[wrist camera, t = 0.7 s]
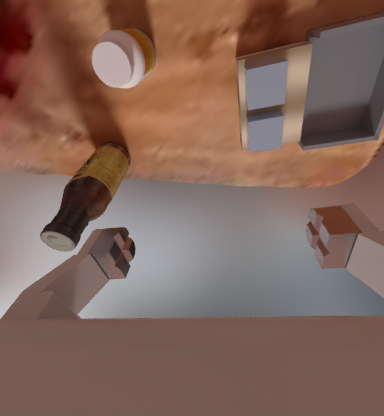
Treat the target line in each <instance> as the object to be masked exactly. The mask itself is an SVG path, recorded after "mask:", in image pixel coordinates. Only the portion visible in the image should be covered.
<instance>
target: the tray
mask: <svg viewBox="0 0 384 416" xmlns="http://www.w3.org/2000/svg"><path fill="white" fill-rule="evenodd" d="M307 42H310V43H313V47H312V55H311V62H310V70H309V77H308V85H307V92H306V100H305V108H304V115H303V123H302V130H301V138H300V142H298V143H299V145H300V146H301V148H302V149H303V150H309V149H316V148H323V147H330V146H337V145H344V144H351V143H357V142H364V141H371V140H378V138H379V135H380V132H381V130H382V127H383V124H384V12H381V13H377V14H373V15H369V16H365V17H361V18H356V19H352V20H348V21H344V22H340V23H336V24H332V25H328V26H324V27H320V28H316V29H312V30H308V37H307Z"/></svg>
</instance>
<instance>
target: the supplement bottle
mask: <svg viewBox="0 0 384 416" xmlns="http://www.w3.org/2000/svg"><path fill="white" fill-rule="evenodd" d="M155 60H156V54H155V49H154V46H153V43H152V41H151V40H150V38H149V37H148V36H147V35H146V34H145V33H144V32H142V31H141V30H139V29H135V28H127V29H119V30H112V31H108V32H106V33H104V34H103V35H102V36H101V37H100V39H99V40H98V42H97V45H96V46H95V48H94V49H93V52H92V65H93V68H94V70H95V72H96V74H97V76H98V77H99V78H100V80H101V81H103V82H104V83H105V84H107V85H109V86H111V87H120V88H131V87H133V86H135V85H137V84H138V83H139V82H140V81H142V80H143V79H144V78H145V77H146V76H148V75H149V74H150V72H151V71H152V70H153V68H154V65H155Z"/></svg>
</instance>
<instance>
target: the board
mask: <svg viewBox="0 0 384 416" xmlns="http://www.w3.org/2000/svg"><path fill="white" fill-rule="evenodd" d="M312 47H313V43H310V42H306V41H303V42H299V43H295V44H290V45H286V46H282V47H278V48H273V49H269V50H265V51H261V52H257V53H252V54H248V55H244V56H240V57H236V72H237V88H238V105H239V122H240V139H241V146H242V150H248V146H247V125H246V116H248V115H253V114H259V113H264V112H270V111H275V110H280V111H281V112H282V114H283V115H284V124H283V137H282V144H288V143H294V142H300V138H301V130H302V123H303V115H304V108H305V100H306V92H307V85H308V77H309V70H310V62H311V55H312ZM279 58H284V59H286V60H288V70H287V84H286V97H285V104H280V105H275V106H269V107H264V108H259V109H254V110H248V109H247V107H246V99H245V73H244V66H248V65H253V64H257V63H262V62H266V61H270V60H275V59H279Z"/></svg>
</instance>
